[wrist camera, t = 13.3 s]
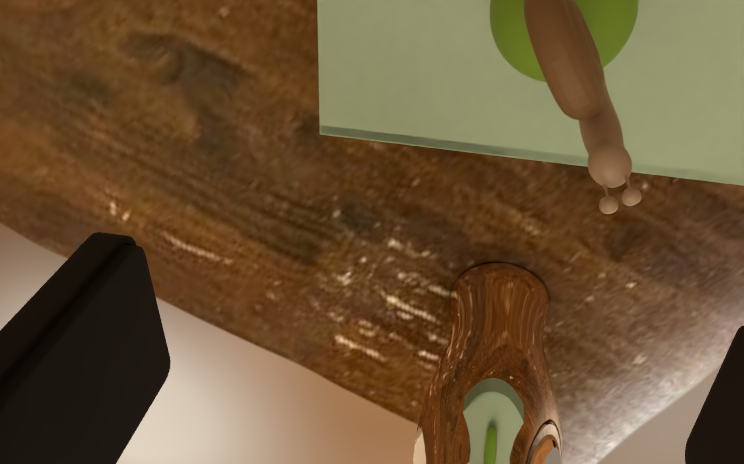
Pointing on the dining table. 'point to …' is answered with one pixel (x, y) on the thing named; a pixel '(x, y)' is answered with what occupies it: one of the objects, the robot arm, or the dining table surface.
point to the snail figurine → (574, 71)
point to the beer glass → (492, 376)
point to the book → (535, 85)
